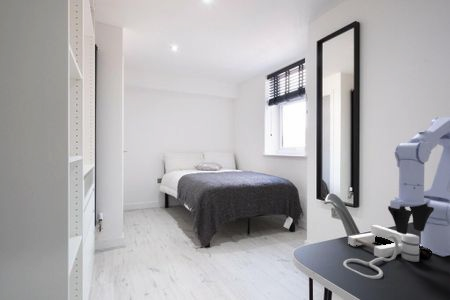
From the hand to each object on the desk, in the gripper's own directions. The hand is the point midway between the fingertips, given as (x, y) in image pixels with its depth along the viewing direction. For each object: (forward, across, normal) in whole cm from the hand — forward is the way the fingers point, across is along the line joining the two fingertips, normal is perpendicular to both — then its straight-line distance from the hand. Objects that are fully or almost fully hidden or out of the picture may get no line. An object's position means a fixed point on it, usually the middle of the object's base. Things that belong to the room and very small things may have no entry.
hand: (410, 231), depth 69 cm
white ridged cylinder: (+8, 0, 0) cm, 8 cm away
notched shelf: (+8, +1, -8) cm, 11 cm away
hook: (+8, +12, -1) cm, 15 cm away
